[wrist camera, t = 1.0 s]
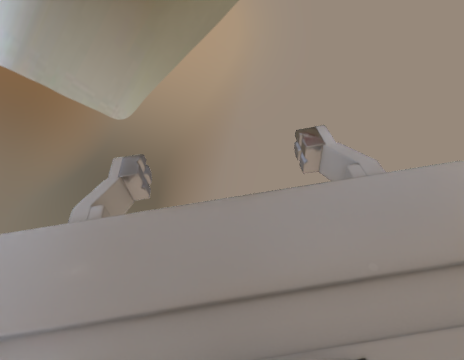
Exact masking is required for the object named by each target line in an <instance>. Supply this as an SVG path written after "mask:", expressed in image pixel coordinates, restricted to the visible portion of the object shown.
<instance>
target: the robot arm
mask: <svg viewBox="0 0 464 360" xmlns="http://www.w3.org/2000/svg"><path fill="white" fill-rule="evenodd" d="M295 137H296V140H297V141H296V142H295V147H294V149H295V155H296V158H297V160H299V161H300V167H301V169H302V172H303V174H304V173H312V172H319V173H321V174H322V175H323V176H325V177H326V178H328V179H329V180H330V182H324V183H318V184H311V185H305V186H299V187H293V188H286V189H280V190H274V191H267V192H261V193H255V194H249V195H243V196H236V197H230V198H223V199H218V200H211V201H205V202H198V203H193V204H186V205H180V206H173V207H167V208H161V209H154V210H148V211H142V212H136V213H130V214H125V213H126V212H127V211H128V209H129V208H130V207H131V205H132V204H133V203H134V201H137V200H142V199H147V198H150V191H151V188H150V186H149V185H150V184H151V182H152V175H151V171H150V168H149V166H148V165H146V159H145V156H144V155H143V154H140V155H132V156H125V157H118V158H114V159H113V161H112V165H111V168H110V172H109V176H108V179H105V180H104V181H103V182H102V183H100V184H99V185H98V186H97V187H96V188H95V189H94V190H93V191H92V192H90V193H89V194H88V195H87V196H86V197H85V198H84V199H83V200H82V201H81V202H79V204H77V205H76V206H75V207H74V208H73V210H72V212H71V215H70V218H69V220H68V223H67V224H61V225H54V226H49V227H42V228H36V229H30V230H23V231H17V232H10V233H3V234H0V360H464V161H455V162H449V163H442V164H436V165H430V166H423V167H418V168H412V169H405V170H399V171H393V172H385V170H384V169H383V168H382V166H381V165H380V164H379V162H378V161H377V160H376V159H373V158H371V157H369V156H367V155H365V154H363V153H360V152H358V151H356V150H354V149H352V148H350V147H348V146H346V145H343V144H341V143H336V142H335V140H334V138H333V137H332V135H331V134H330V132H329V130H328V129H327V127H326V126H325V125H321V126H315V127H311V128H305V129H299V130H296V132H295Z"/></svg>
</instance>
